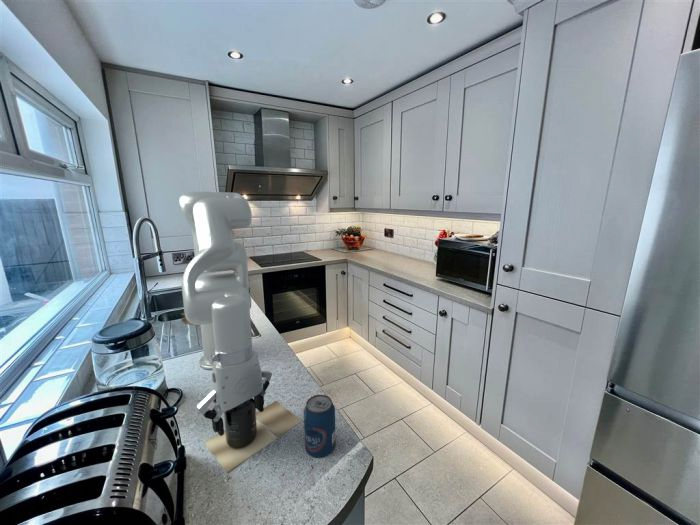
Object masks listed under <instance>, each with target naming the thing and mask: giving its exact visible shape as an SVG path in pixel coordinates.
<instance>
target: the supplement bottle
mask: <svg viewBox="0 0 700 525" xmlns="http://www.w3.org/2000/svg"><path fill="white" fill-rule="evenodd" d="M256 412H257V410H256V405H255V401H254V397H253V398H251V399H249V400H247V401H245V402H244V403H242V404H240V405H238V406H236V407H234V408H232V409H230V410H228V411H224V412H223V418H224V420H223V421H224V430H225V434H226V442H227V444H228V445H229V446H230V447H232V448H243V447H245V446H247V445H249V444H250V443H252V442H253V441H254V439H255V438H256V435H257V424H256V419H257V417H256Z"/></svg>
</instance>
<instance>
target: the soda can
mask: <svg viewBox="0 0 700 525" xmlns="http://www.w3.org/2000/svg"><path fill="white" fill-rule="evenodd" d="M303 427H304V428H303V429H304V430H303V431H304V448H305V451H306V454H308V455H309V456H311V457H312V458H316V459H321V458H325V457H328V456H329V455H331V454H332V453H333V452H334V451H335V448H336V442H337V441H336V408H335V405H334V404H333V401H332V398H331V397H330V396H328V395H325V394H316V395H312V396H310V398H308V399H307V401H306V403H305V406H304V408H303Z"/></svg>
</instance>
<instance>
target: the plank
mask: <svg viewBox="0 0 700 525" xmlns="http://www.w3.org/2000/svg"><path fill="white" fill-rule="evenodd" d="M256 424H257V435H256V438H255V439H254V441H253V442H252V443H250V444H249V445H247V446H245V447H243V448H232V447H230V446H229V445H228V444H227V442H226V434H225V429H224V435H222V436H220V435H219V434H218V433H217V434H215V435H214V436H212V437H210V438H208V439H206V440H204V442H203V444H204V446H206V447H207V449H208V450H209V452H210V453H211V454H212V455H213V457H214V458H215V459H216V461H217V462H218V463H219V465H221V466H220V467H222V468H223V470H224V471H225V472H226V473H227V474H229V473H230V472H231V471H232V470H234V469H236V468H237V467H238V466H239V465H241V464H242V463H244V462H246V461H247V460H248V459H250V458H252V456H254V455H255V454H257V453H258V452H260V451H261V450H263V449H264V448H265V447H267V446H269V445H270V444H271V443H273V442H274V441H276V440H277V439H278V436H277V435H275V434H274V433H273V432H272V431H271V430H270V429H269V428H268V427H267V426H265V425H264V424H263V423H262V422H261V421H260V420H259V419H258V418H256Z"/></svg>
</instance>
